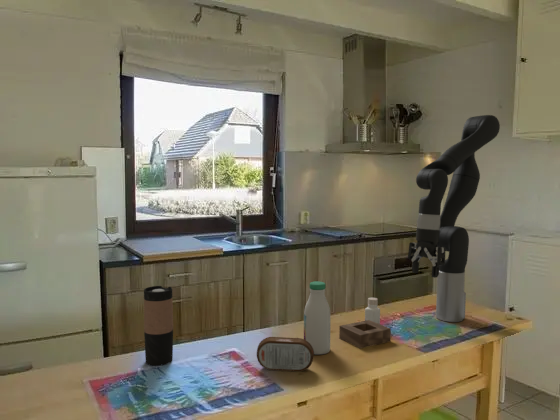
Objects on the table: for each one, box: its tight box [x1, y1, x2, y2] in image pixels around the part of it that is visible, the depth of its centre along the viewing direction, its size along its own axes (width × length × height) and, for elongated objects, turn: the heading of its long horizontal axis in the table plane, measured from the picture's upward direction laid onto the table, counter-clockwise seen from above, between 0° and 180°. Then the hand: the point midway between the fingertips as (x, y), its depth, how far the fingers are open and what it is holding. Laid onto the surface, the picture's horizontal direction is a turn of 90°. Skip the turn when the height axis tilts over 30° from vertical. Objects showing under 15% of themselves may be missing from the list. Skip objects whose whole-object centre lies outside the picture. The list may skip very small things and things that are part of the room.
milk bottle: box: [303, 280, 331, 356], centre depth 136 cm, size 8×8×20 cm
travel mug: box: [143, 285, 174, 367], centre depth 128 cm, size 8×8×20 cm
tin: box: [256, 336, 315, 372], centre depth 123 cm, size 15×3×8 cm, turn 84°
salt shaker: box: [364, 297, 381, 325], centre depth 158 cm, size 4×4×10 cm
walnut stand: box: [338, 320, 392, 349], centre depth 145 cm, size 12×10×4 cm
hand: (424, 275), depth 160 cm, fingers open, 8 cm apart
